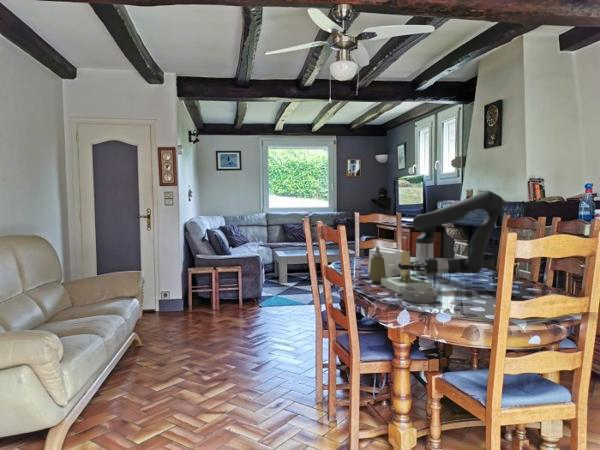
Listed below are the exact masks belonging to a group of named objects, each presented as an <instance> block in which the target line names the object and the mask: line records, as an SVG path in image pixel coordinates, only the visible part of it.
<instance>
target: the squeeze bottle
mask: <svg viewBox="0 0 600 450" xmlns="http://www.w3.org/2000/svg"><path fill="white" fill-rule="evenodd" d="M375 247H376V251H375V253H373V258H371V267H370V273H369V276H370V279H371V282H373V283H381V278H386V277H385V275H386V273H385V263H384V258H382V253H380V250H379V247H380V246H378V245H376V246H375Z"/></svg>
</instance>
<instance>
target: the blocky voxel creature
mask: <svg viewBox="0 0 600 450" xmlns="http://www.w3.org/2000/svg"><path fill="white" fill-rule="evenodd" d="M376 247H377V246H375V247H374V248H370V249H369V250H368V251H369V254H368V268H367V273H368V274H370V267H371V258H373V253H375V251H376ZM379 250H380V253H382V258H384V263H385V273H386V275H385V278H390V277H398V276H401V269H400V268H399V263H401V251H404V250H403V249H395V248H391V247H385V246H384V247H383V246H379ZM410 262H415V261H414V259H410ZM410 272H411V270H410Z"/></svg>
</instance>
